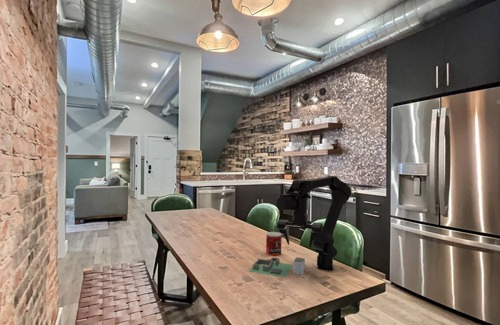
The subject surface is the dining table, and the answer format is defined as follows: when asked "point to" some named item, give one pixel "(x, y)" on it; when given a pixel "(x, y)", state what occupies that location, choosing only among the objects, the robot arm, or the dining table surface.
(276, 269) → the board
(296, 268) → the plug
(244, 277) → the dining table surface
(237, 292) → the dining table surface
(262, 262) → the grey square frame
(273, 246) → the canned food
